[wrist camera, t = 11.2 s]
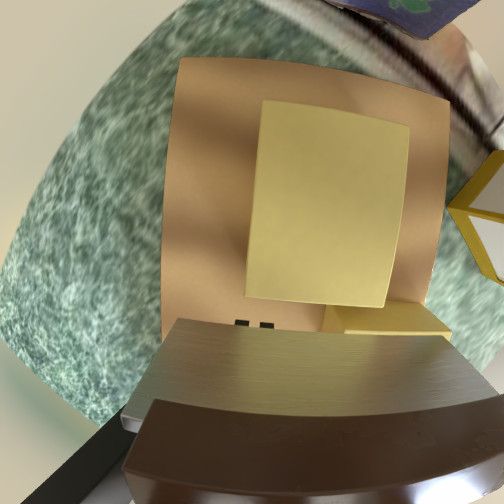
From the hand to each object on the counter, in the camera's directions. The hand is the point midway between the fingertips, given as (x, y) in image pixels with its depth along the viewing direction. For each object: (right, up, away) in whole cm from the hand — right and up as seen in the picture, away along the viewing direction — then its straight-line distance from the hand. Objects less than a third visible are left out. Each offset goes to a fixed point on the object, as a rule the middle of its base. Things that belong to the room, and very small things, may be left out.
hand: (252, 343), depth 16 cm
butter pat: (+8, 0, +3) cm, 9 cm away
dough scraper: (+3, +1, -4) cm, 5 cm away
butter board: (+3, +5, +3) cm, 7 cm away
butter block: (+4, +8, +1) cm, 9 cm away
